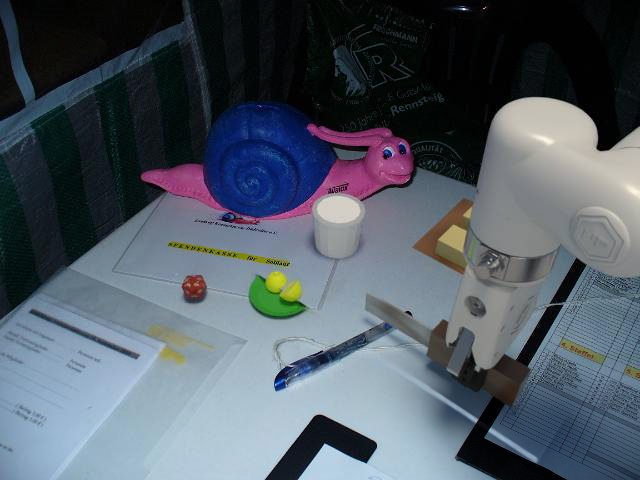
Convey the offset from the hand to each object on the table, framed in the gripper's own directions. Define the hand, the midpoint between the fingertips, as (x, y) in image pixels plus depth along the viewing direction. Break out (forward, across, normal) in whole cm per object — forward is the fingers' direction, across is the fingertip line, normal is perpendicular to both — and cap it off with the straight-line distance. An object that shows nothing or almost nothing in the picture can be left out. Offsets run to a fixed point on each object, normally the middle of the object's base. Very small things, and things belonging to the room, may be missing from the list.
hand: (473, 372), depth 62 cm
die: (+3, -10, +33) cm, 34 cm away
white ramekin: (+3, +8, +25) cm, 26 cm away
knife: (0, 0, +5) cm, 5 cm away
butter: (+2, +17, +11) cm, 20 cm away
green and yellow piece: (+3, -3, +25) cm, 25 cm away
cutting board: (+3, +21, +11) cm, 24 cm away
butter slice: (+2, +23, +11) cm, 25 cm away
